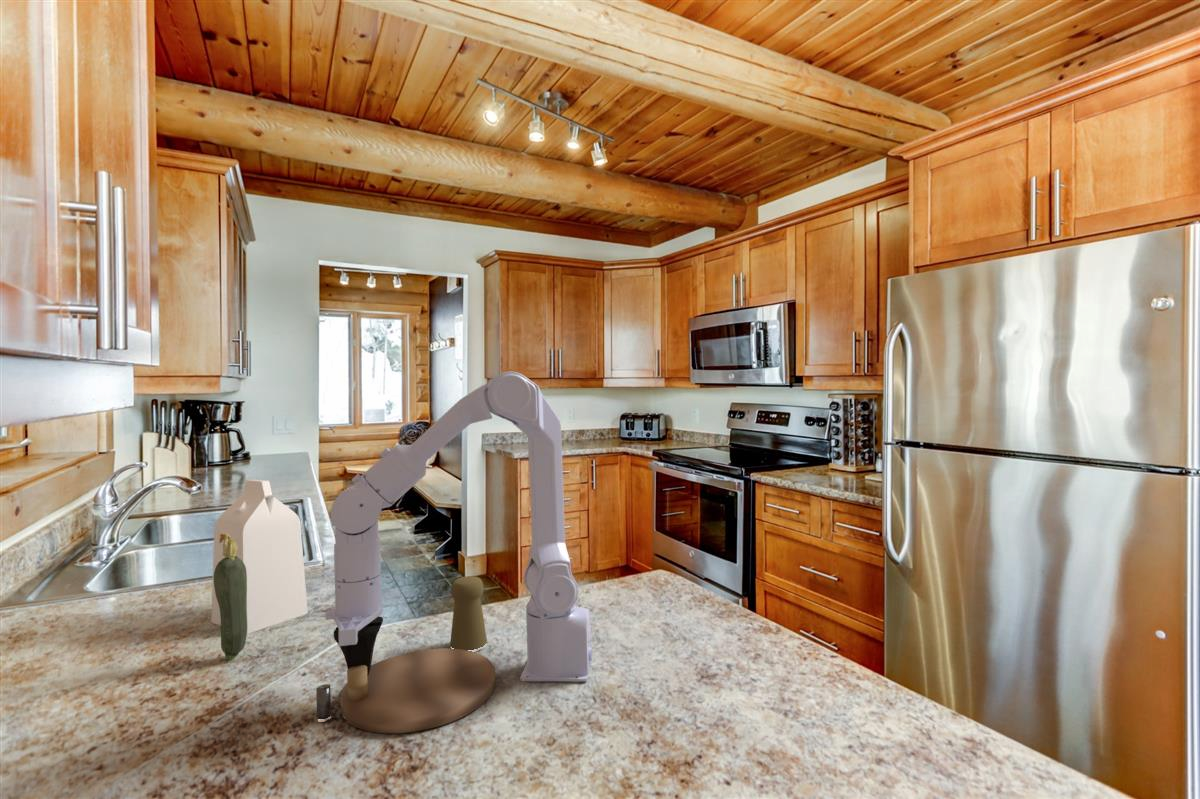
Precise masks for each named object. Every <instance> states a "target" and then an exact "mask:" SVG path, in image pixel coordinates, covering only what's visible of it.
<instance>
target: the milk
mask: <svg viewBox="0 0 1200 799" xmlns="http://www.w3.org/2000/svg"><path fill="white" fill-rule="evenodd" d="M213 533H214V534H213V554H212V555H213V561H212V563H213V564H212V590H211V591H212V592H211V595H212V596H211V623H212V622H213V624H214V625H218V626H221V617H220V608H219V604H218V601H217V598H216V593H215V587H214V571H215V568H216V566H217V564H218V563H219V562H220V561H221V560H222V559H224V558H226V557H225V556H223V543H224V540H223V539H222V540H223V541H222V542H221V543H219V542H220V540H219V538H220V537H221V536H220V535H221V534H222V533H225V534H228V535H229V536H231V537H232V539H233V540H234V541H235V542H236V544H237V547H238V551H237V557H238V558H240V559H241V560H242V561H243V563H244V565H245V567H246V572H247V635H248V634H250V633H254V632H257V631H261V630H262V629H266V628H269V627H271V626H274V625H277V624H278V625H279V624H281V623H283V622H287V621H289V620H293V619H295V618H298V617H302V616H305V615H307V614H309V610H308V598H307V588H306V577H305V576H306V575H305V566H304V565H305V564H304V563H305V562H304V561H305V560H304V552H303V539H302V538H303V537H302V527H301V520H300V518H299V515H297V513H296V512H295V511H293V510H292V509H291V508H290V507H288V506H287V505H286V504H284V503H283V502H281V501H280V500H279V499H277V498H276V497H275V496H273V492H272V487H271V483H270V480H264V479H253V478H251V479H246V480H245V481H244V487H243V491H242V494H241V495H240V496H239V497H238V498H237V499H236V500H235V501H233V503H232V504H231V505H230V506H229V507H228V508H227V509H225V511H224V512H222V514H221V515H220V516H219V517H218V518H217V520H216V521H215V523H214V529H213Z"/></svg>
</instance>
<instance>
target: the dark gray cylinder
mask: <svg viewBox="0 0 1200 799" xmlns="http://www.w3.org/2000/svg"><path fill="white" fill-rule="evenodd" d="M315 690H316V693H315V695H316V697H315V698H316V719H317V718H318V719H326V718H328V717H330V716H331V717H332V701H331V700H332V698H331V697H332V696H331V693H332V692H331V685H330V684H329V683H328V684H327V683H325V684H321V685H318V686H317V687H316V689H315Z"/></svg>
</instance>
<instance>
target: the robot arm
mask: <svg viewBox="0 0 1200 799" xmlns="http://www.w3.org/2000/svg"><path fill="white" fill-rule="evenodd" d="M492 414H493V415H494V416H497V417H499V418H501V419H503V420H506V421H509V422H511V424H512V425H513V426H515V427H516V428H518V430H519V431H521V432H522V433H524V435H525V436H527V444H528V446H527V447H528V468H529V470H528V472H529V474H528V475H529V498H530V499H529V500H530V502H529V503H530V523H531V524H530V525H531V526H530V527H531V530H530V531H531V544H530V547H529V560H528V565H527V567H526V569H525V570H524V576H523V578H524V585H525V587H526V588H527V590H528V591H529V592H530V594H531V596H530V597H529V600H528V602H527V604H526V605H525V610H526V611H525V612H526V613H525V615H526V620H525V621H526V622H525V623H526V653H527V654H526V656H527V660H526V663H525V666H524V668H523V670H522V672H521V675H520V677H519V680H520V681H522V682H575V683H577V682H578V683H580V682H587V681H588V679H589V678H588V677H589V673H590V669H591V664H592V661H593V648H592V633H591V632H592V630H591V613H590V608H586V607H579V606H576V602H577V601H578V596H579V587H578V583H577V581H576V579H575V578H574V575H573V573H572V567H571V564H572V563H571V559H570V556H569V552H568V549H567V548H568V547H567V545H566V532H565V531H566V530H565V529H566V527H565V502H564V501H565V500H564V499H565V498H564V474H563V473H564V472H563V448H562V447H563V444H562V441H563V439H562V425H561V421H560V419H559V417H558V415H557V414H556V413H555V411H554V410H553V409H552V407H551V406H550V404H549V402H548V401H547V399H546V398H545V396H544V395H543V393H542V391H541V389H540V386H539V385H537V383H535V382H533V381H532V380H531V379H529V378H528V377H526V376H525V375H524V374H522V373H520V372H517V371H506V372H505V371H504V372H501V373H499V374H498V375H495V376H492V378H491V377H490V378H489V380H488V381H487V382H486V383H485V384H482V385H480V386H479V387H477V388H476V389H474V390H472V391H470V392H469V393H468V394H465V396H463V397H462V398H460V399H459V400H458V401H457V402H456V403H455V404H454V405H453V406H451V407H450V408H449V409H448V410H447V411H446V412H445V413H444V414H443V415H442V416H441V417H440V418H439V419H438V420H436V421H435V422H434V423H433V424H432V425H431V426H430V427H429V428H428V429H426V431H424V433H423V434H422V435H420V436H419V437H418V438H417V439H416V440H415V441H414V442H412V444H396V445H395V446H393V447H392V448H391V449H390V448H389V447H386V448H385V449H383V450H382V451H381V452H380V453H379V456H380V457H381V458H380V459H378V460H377V461H376V462H375V463H374V464H372V466H370V467H369V468H368V469H367V470H366V471H365V472H364V473H363V474H361V475H360V474H358V473H357V474H356V475H355V476H353V477H352V479H351V481H352V482H353V484H354V485H350V486H349V487H347V488H346V489H344V490H342V491H341V492H340V493H339V495H337V497H336V498H335V499H334V501H333V503H332V505H331V507H330V519H331V522H332V524H333V525H334V526H335V527H334V538H335V539H334V540H335V541H334V545H333V556H334V557H333V560H334V564H333V565H334V574H333V575H334V608H330V609H327V611H326V612H325V614H324V615H325V616H324V617H325V620H333V621H334V622H335V625H336V627H335V629H334V630H333V638H334V640H335V642H336V643H337V645H338V646H339V647H340V650H341V651H342V653H343V657H344V661H345V664H346V668H347V670H348V669H349V668H351V667H353V666H357V665H365V666H367V678H368V675H369V672H370V668H371V665H372V662H373V655H374V651H375V650H374V648H375V645H376V644H375V643H376V640H377V637H378V633H379V631H380V629H381V627H382V624H383V622H384V617H383V616H381V615H382V614H383V613H384V604H382V573H381V572H382V567H381V566H382V564H381V560H382V559H381V558H382V557H381V538H380V537H379V520H378V519H379V517H380V514H381V512H382V509H385V508H390V507H392V506H393V505H394V504H395V503H396V502H397V501H398V500H399V499H401V498H402V497H403V496H404V495H405V494H406V493H407V492H408V491H409V490H410V489H411V488H413V487H414V486H415V485H417V483H418V482H419V481H421V480H422V479H423V478H424V477H426V474H427V461H429V459H431V458H432V457H433V456H434V455H436V453H438V452H439V451H440V450H442V449H443V448H444V447H445V446H447V444H448V443H450V442H451V441H452V440H453V439H454V438H455V437H457V436H458V435H459V434H461V433H462V432H463V431H464V430H465V429H467V428H468V427H469V426H470V425H471V424H476V423H478V422H484V421H487V420H491V419H493V415H492Z"/></svg>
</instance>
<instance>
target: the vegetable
mask: <svg viewBox="0 0 1200 799" xmlns="http://www.w3.org/2000/svg"><path fill="white" fill-rule="evenodd" d="M220 536H221V537H220V538H219V540H220V542H219V543H221V542H222V541H223V540H224V543H223V556H225V557H226V558H224V559H222V560H221V561H220V562H219V563H218V564H217V566H216V568H215V571H214V587H215V593H216V598H217V601H218V604H219V608H220V617H221V626H220V625H219V626H220V648H221V650H222V652H223V653H224V659H225V660H231V661H232V660H234V659H235V658H236V657H237V656H238V655H239V653H241V651H242V650H243V649H244V648H245V646H246V642H247V641H246V640H247V636H248V634H247V572H246V567H245V565H244V563H243V561H242V560H241V559H240V558H238V557H237V551H238V547H237V544H236V542H235V541H234V540H233V539H232V537H231V536H229V535H228V534H225V533H222V534H221V535H220ZM222 539H223V540H222Z"/></svg>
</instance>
